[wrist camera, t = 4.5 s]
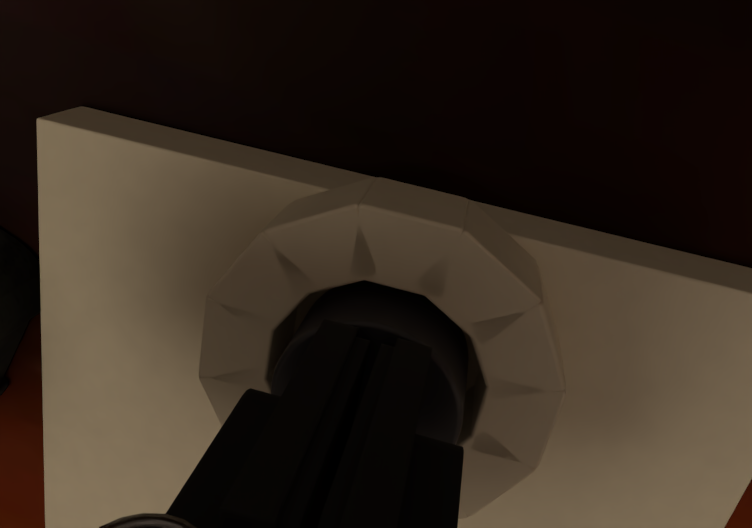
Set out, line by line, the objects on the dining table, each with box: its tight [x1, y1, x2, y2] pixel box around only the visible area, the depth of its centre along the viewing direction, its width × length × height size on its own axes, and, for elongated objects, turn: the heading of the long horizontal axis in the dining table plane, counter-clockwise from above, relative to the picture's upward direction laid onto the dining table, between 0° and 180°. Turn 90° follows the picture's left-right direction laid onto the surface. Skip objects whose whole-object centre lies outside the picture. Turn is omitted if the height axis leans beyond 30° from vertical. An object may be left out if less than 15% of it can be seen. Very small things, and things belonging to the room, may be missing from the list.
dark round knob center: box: [271, 280, 469, 445], centre depth 11 cm, size 3×3×2 cm
